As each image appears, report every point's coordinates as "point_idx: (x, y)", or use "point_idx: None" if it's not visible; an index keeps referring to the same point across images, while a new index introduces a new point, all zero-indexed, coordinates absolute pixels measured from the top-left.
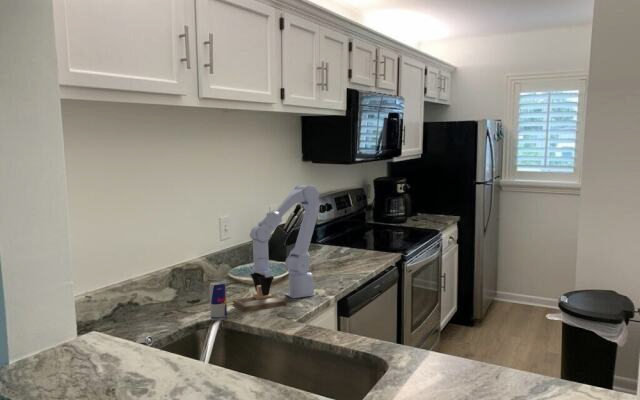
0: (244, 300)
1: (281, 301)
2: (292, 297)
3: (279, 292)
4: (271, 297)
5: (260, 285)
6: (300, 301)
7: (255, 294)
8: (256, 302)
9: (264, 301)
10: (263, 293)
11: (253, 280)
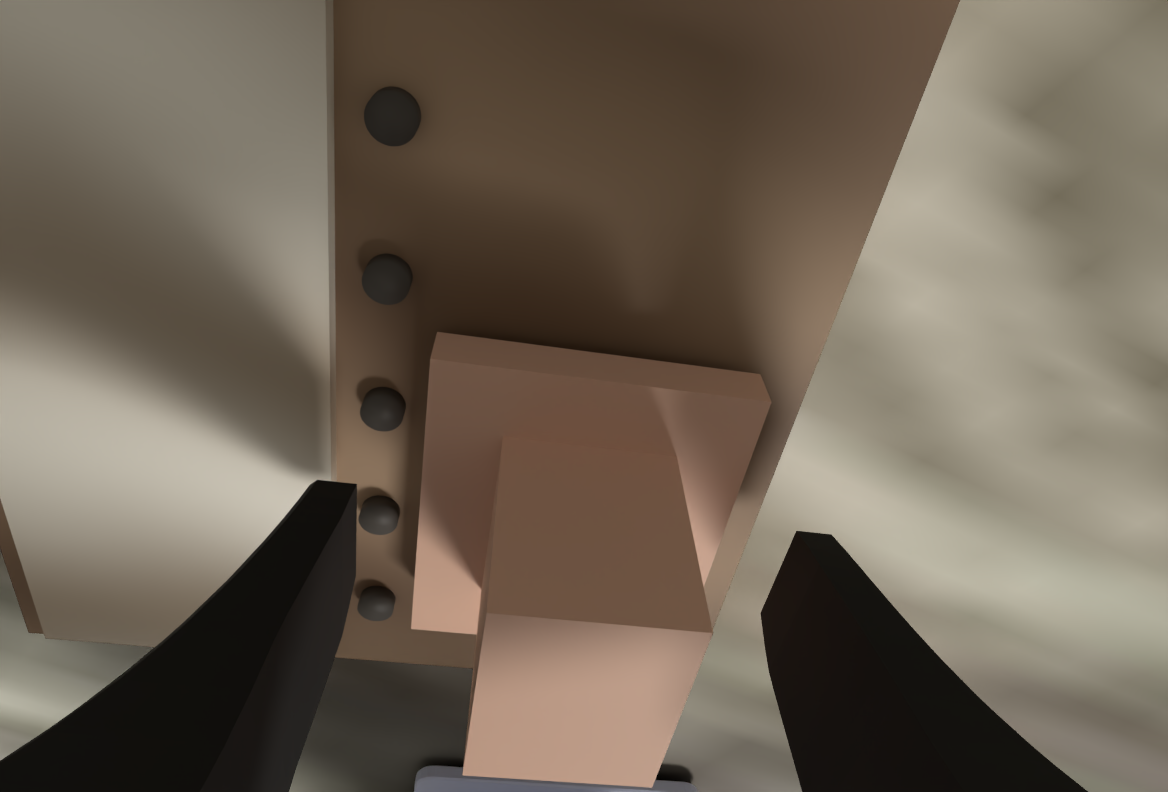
0: (637, 68)
1: (43, 581)
2: (436, 773)
3: None
4: None
5: (647, 699)
6: None
7: (731, 449)
8: (72, 161)
9: (94, 350)
10: (286, 515)
11: (1010, 760)
